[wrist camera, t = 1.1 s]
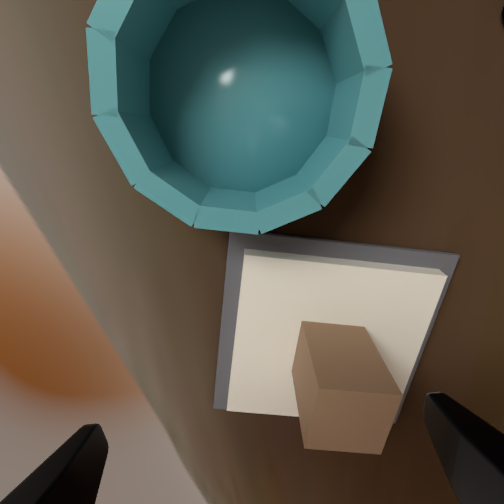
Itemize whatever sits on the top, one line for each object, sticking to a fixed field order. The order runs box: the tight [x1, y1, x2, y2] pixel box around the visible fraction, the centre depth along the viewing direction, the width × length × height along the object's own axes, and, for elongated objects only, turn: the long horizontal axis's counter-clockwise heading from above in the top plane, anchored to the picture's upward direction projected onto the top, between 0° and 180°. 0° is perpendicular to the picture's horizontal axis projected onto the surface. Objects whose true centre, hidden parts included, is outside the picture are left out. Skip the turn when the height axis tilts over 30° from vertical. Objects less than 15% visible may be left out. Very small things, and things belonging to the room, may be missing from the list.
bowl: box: [86, 0, 392, 235], centre depth 14 cm, size 11×11×5 cm
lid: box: [227, 249, 448, 455], centre depth 19 cm, size 12×12×6 cm
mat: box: [213, 232, 460, 423], centre depth 22 cm, size 14×14×1 cm
